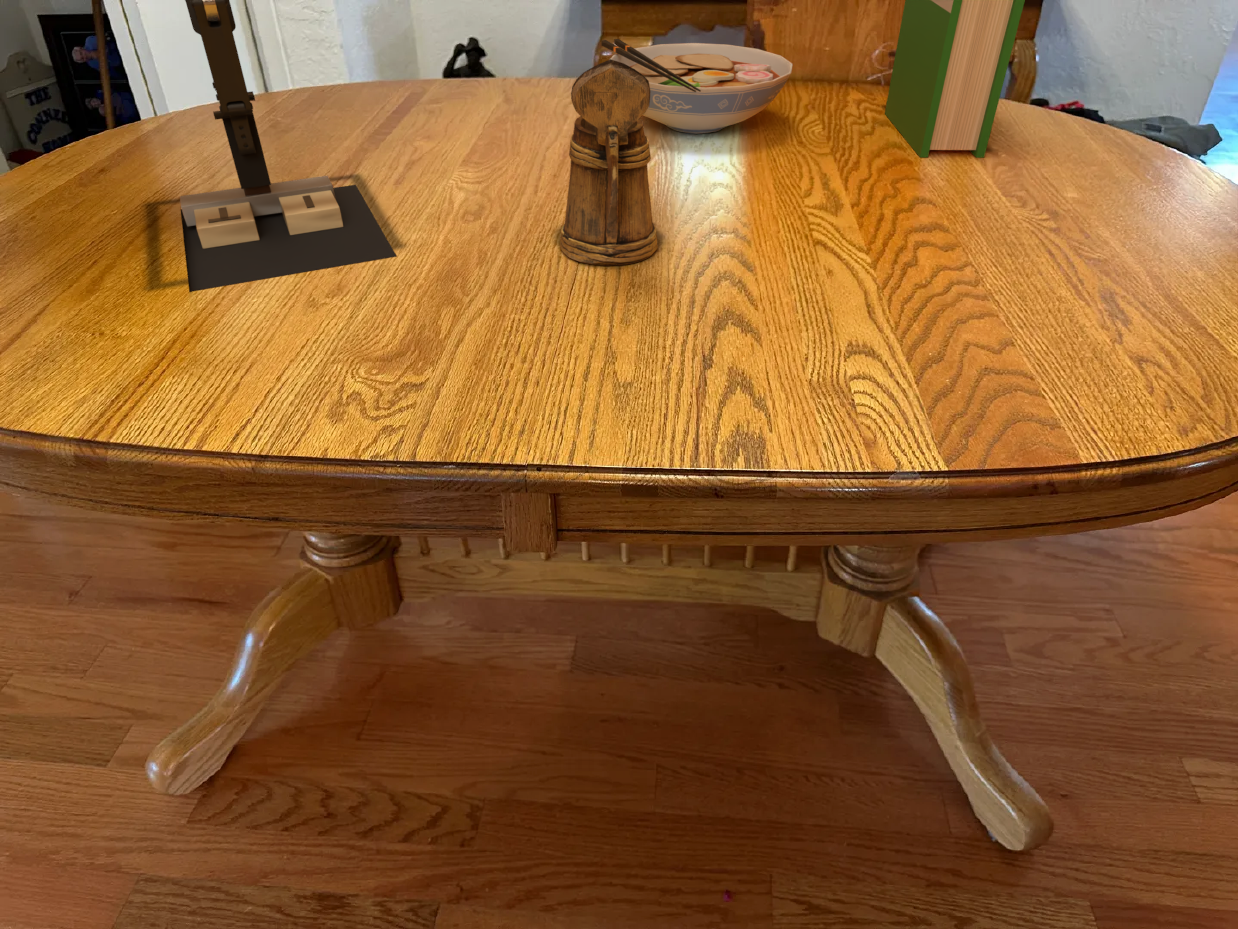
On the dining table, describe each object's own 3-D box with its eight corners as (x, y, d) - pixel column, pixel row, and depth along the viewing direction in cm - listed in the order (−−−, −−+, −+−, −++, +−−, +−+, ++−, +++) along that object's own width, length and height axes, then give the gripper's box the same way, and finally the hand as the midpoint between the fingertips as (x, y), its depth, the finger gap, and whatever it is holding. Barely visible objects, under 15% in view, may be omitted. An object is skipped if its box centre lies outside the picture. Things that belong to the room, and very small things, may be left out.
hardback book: (984, 157, 99) (1047, -89, 84) (919, 157, 99) (972, -89, 84) (940, 113, 113) (989, -104, 98) (884, 113, 113) (924, -104, 98)
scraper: (185, 215, 83) (143, 85, 76) (331, 194, 88) (305, 69, 81) (187, 226, 81) (144, 94, 74) (336, 204, 86) (310, 77, 78)
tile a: (200, 229, 82) (193, 208, 81) (254, 221, 84) (249, 200, 82) (203, 249, 78) (196, 227, 77) (260, 240, 80) (254, 218, 79)
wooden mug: (557, 291, 72) (547, 60, 61) (561, 228, 82) (552, 21, 71) (663, 290, 72) (672, 59, 61) (653, 226, 83) (659, 20, 72)
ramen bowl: (826, 143, 103) (837, 70, 98) (652, 167, 96) (654, 90, 91) (730, 92, 121) (735, 28, 116) (578, 108, 114) (576, 42, 109)
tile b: (283, 217, 84) (278, 196, 83) (334, 209, 86) (330, 188, 85) (290, 235, 81) (284, 214, 80) (343, 227, 82) (339, 205, 81)
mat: (153, 214, 85) (153, 213, 85) (356, 185, 92) (355, 184, 92) (157, 298, 71) (156, 296, 71) (396, 257, 77) (396, 255, 77)
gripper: (235, -106, 64) (305, 201, 78) (220, -120, 75) (284, 151, 90) (125, -102, 62) (218, 214, 76) (126, -117, 73) (208, 161, 87)
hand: (254, 179), depth 83 cm, fingers closed on scraper, 2 cm apart
